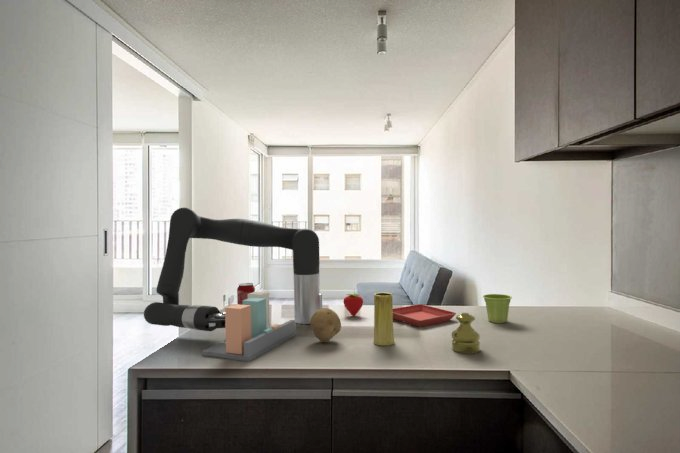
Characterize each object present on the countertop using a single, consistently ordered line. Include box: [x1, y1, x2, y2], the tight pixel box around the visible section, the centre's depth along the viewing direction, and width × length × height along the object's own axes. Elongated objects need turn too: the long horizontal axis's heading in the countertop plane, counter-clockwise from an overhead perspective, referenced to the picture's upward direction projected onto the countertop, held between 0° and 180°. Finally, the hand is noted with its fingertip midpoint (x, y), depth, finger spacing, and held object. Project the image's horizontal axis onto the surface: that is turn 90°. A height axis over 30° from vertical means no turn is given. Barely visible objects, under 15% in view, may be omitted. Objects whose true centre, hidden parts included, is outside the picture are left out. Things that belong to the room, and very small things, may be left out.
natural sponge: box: [309, 307, 342, 343], centre depth 120 cm, size 9×9×10 cm
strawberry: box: [342, 290, 364, 317], centre depth 152 cm, size 6×8×10 cm
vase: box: [373, 292, 395, 347], centre depth 117 cm, size 6×6×14 cm
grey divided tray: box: [202, 319, 296, 362], centre depth 118 cm, size 15×25×6 cm, turn 158°
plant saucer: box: [393, 303, 457, 328], centre depth 144 cm, size 18×18×3 cm
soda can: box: [236, 282, 256, 305], centre depth 157 cm, size 7×7×12 cm
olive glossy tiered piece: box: [451, 312, 481, 355], centre depth 110 cm, size 7×7×10 cm
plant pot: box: [482, 293, 513, 324], centre depth 139 cm, size 9×9×9 cm
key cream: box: [248, 291, 271, 329], centre depth 128 cm, size 5×4×12 cm
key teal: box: [243, 298, 267, 339], centre depth 118 cm, size 5×4×12 cm
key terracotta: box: [224, 304, 251, 354], centre depth 108 cm, size 5×4×12 cm
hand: (247, 322), depth 119 cm, fingers closed
